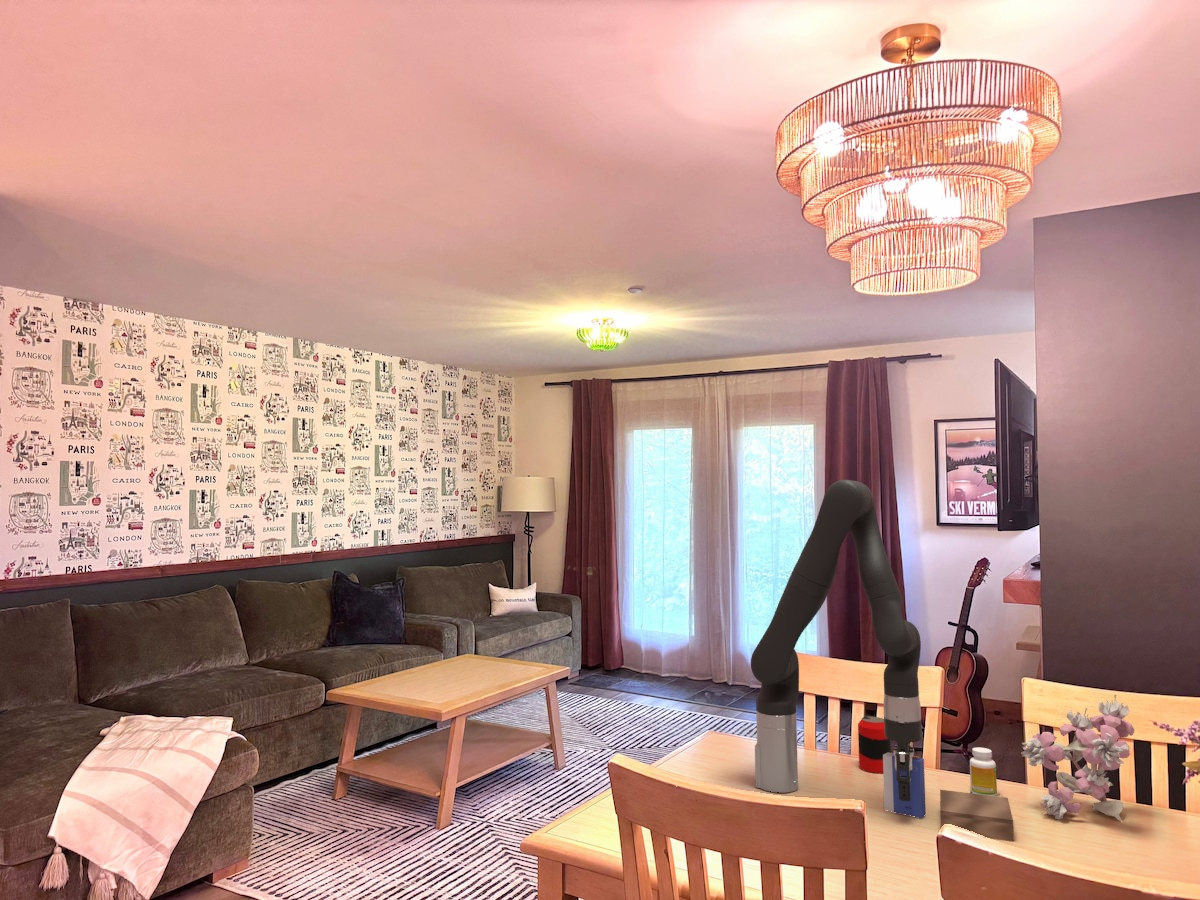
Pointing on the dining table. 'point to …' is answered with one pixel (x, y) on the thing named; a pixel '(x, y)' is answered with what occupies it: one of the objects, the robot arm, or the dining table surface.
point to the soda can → (872, 744)
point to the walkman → (916, 787)
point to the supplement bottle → (983, 772)
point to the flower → (1092, 751)
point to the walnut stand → (977, 813)
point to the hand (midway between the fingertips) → (905, 793)
